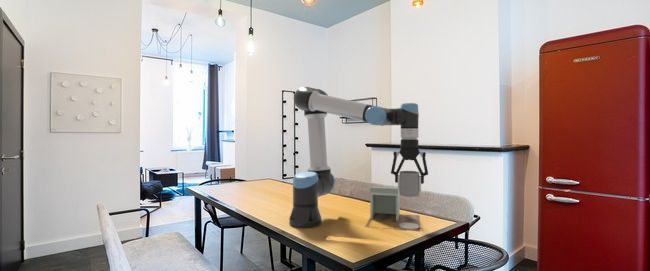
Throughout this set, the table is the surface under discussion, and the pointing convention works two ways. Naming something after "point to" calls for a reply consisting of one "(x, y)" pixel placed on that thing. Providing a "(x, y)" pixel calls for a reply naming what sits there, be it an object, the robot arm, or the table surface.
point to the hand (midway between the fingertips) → (409, 190)
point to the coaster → (409, 225)
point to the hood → (384, 201)
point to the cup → (409, 183)
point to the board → (392, 218)
